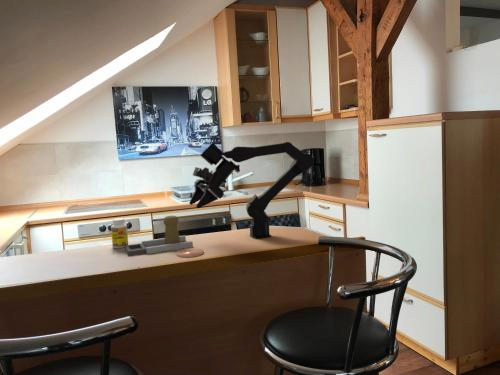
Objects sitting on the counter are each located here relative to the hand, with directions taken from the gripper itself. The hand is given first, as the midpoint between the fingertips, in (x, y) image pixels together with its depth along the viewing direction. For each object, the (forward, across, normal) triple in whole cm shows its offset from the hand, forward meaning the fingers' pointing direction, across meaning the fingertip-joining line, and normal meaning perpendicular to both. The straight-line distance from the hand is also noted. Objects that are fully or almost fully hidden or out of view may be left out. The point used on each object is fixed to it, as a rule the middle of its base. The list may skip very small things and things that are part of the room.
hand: (193, 205), depth 151 cm
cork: (+16, 0, +4) cm, 16 cm away
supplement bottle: (+28, -10, -8) cm, 31 cm away
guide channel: (+17, 0, +2) cm, 17 cm away
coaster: (+14, +13, +6) cm, 20 cm away
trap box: (+25, 0, -5) cm, 26 cm away
